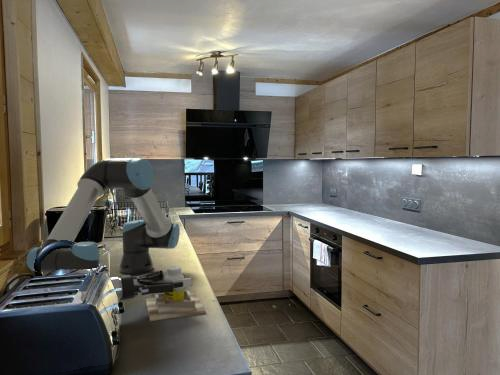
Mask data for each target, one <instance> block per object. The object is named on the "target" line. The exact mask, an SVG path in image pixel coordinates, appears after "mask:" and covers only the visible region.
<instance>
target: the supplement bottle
mask: <svg viewBox="0 0 500 375" xmlns="http://www.w3.org/2000/svg"><path fill="white" fill-rule="evenodd" d="M166 269H167V271H166V272H168V275H166V276H165V281H164V282H172V281H173V280H179V279H185V276H184V275H183V274H182V267H181V266H179V265H178V266H177V265H175V266H174V265H173V266H169V267H167V268H166ZM184 290H185V287H184V288H178V289H174V292H167V293H165V304H167V303H175V302H183V301H184Z"/></svg>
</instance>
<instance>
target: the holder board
mask: <svg viewBox="0 0 500 375" xmlns="http://www.w3.org/2000/svg"><path fill="white" fill-rule="evenodd" d="M145 304H146V308H147V313H148V320H149V321H150V322H152V321H158V320H159V321H161V320H167V319H173V318H175V319H176V318H181V317H188V316H195V315H196V316H197V315H203V314H207V311H206V310H207V309H205V306H204V305H203V304H202V302H201V300H200V299H199V297H198V295H197V294H196V293H195V292H194V293H193V292H192V293H191V292H190V289H187V290H186V289H184V301H183V302H175V303H167V304H165V293H154V297H151V298H145Z"/></svg>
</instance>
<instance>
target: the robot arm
mask: <svg viewBox="0 0 500 375" xmlns="http://www.w3.org/2000/svg"><path fill="white" fill-rule="evenodd" d="M154 173H155V172H154V168H153V166H152V164H151V163H150V161H148V160H146V159H144V158H139V157H133V158H128V157H126V158H111V157H110V158H103V159H101V160H98V161H97V162H95V163H94V164H93V165H91V166H89V168H87V170H86V171H84V173H82V175H81V177H80V178H79V179H78V181H77V189H76V190H75V192H74V193H73V195H72V197H71V198H70V200H69V202H68V204H67V205H66V207H65V209H64V210H63V212H62V213H61V215H60V217H59V218H58V220H57V222H56V224H55V225H54V227H53V228H52V230H51V232H50V233H49V235H48V237H47V238H46V240H45V241H44V243H43V245H42V246H38V247H37V246H36V247H33V248H32V249H30V250H29V252H28V254H27V256H26V265H27V267H28V268H29V270H31V271H32V272H36V271H35V269H34V263H35V259H36V256H37V255H38V254H39V252H40V251H41V250H42V249H43V248H44V247H45V246H47V245H49V244H51V243H53V242H56V241H60V240H68V241H72V242H73V243H74V242H75V240H76V238H77V236H78V234H79V232H80V231H81V229H82V227H83V226H84V223H85V221H86V219H87V218H88V216H89V214H90V213H91V211H92V209H93V207H94V205H95V203H96V202H97V200H98V198H100V197H102V196H103V195H104V193H105V191H107V190H121V191H122V193H123V194H124V196H125V197H126V198H130V199H131V201H132V202H133V204H134V206H135V208H136V209H137V211H138V213H139V215H140V217H141V218H142V219H137V220H132V221H127V222H124V223H123V224H122V232H121V234H122V255H121V256H122V257H121V261H120V263H119V272H120V273H122V274H127V275H120V276H119V277H118V276H111V277H109V278H110V279H111V281H112V283H113V285H114V287H115V288H122V290H121V291H117V292H116V293H117V296H118V301H120V300H123V301H124V300H129V299H133V298H134V297H135V294H136V293H139V294H140V293H141V296H145V295H152V294H153V295H155V294H158V293H167V292H174V289H178V288H184V289H185V288H190V287H192V286H193V282H192V281H193V280H192V277H185V278H184V279H179V280H173V281H172V282H165V276H166V275H168V272H167V271H166V272H165V271H164V272H163V270H159V271H154V272H150V271H152V270H153V269H154V263H153V259H152V257H151V253H150V249H167V250H169V249H170V250H171V249H175V248H177V246H178V243H179V240H180V234H181V233H180V229H181V228H180V225H179V224H178V223H175V222H174V223H173V222H172V221H171V219H170V218H169V217H167V216H166V215H165V214H164V212H163V210H162V208H161V206H160V204H159V202H158V200H157V198H156V195H155V194H154V192H153V190H152V187H153V185H154V181H155V174H154ZM100 258H101V256H100V250H99V244H98V243H97V242H95V241H80V242H75V243H74V244H72V245H71V247H70V248H60V249H56V250H54V251H52V252H51V253H50V254H48V255H47V256H46V257H45V258H44V260H42V262H41V272H40V273H53V272H52V271H55V270H59V269H81V270H82V269H92V268H97V267H99V268H100ZM146 272H150V273H146ZM141 273H145V274H141ZM131 274H141V275H136V276H134V275H131Z"/></svg>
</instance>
